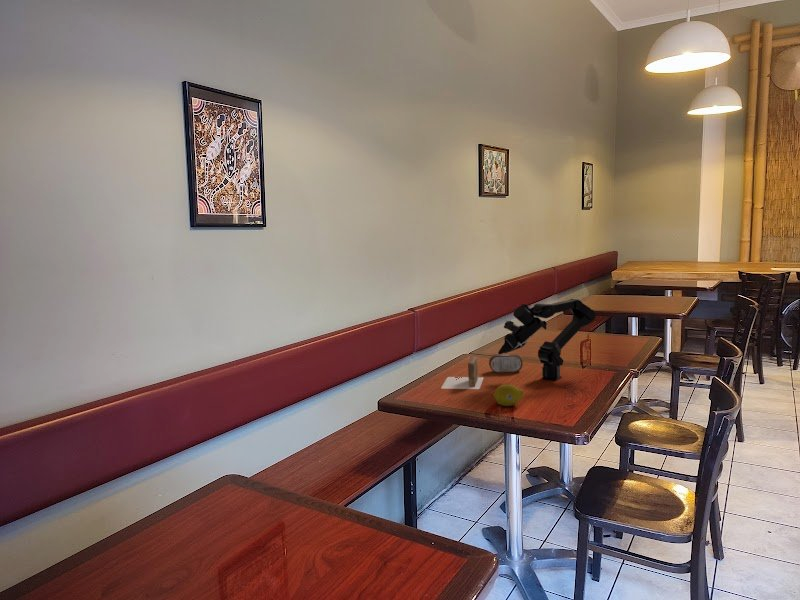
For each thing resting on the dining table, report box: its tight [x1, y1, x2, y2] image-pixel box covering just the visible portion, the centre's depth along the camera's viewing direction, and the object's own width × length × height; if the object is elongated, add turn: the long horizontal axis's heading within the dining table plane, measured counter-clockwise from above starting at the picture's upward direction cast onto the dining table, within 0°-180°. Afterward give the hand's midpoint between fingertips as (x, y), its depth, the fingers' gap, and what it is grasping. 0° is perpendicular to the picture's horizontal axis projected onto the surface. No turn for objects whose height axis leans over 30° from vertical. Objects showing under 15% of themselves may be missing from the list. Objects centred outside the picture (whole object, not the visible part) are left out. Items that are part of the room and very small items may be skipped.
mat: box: [440, 376, 484, 390], centre depth 247 cm, size 16×18×1 cm
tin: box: [488, 353, 524, 373], centre depth 261 cm, size 15×3×8 cm, turn 84°
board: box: [467, 356, 479, 387], centre depth 245 cm, size 2×12×10 cm, turn 166°
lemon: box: [492, 383, 524, 407], centre depth 213 cm, size 11×8×8 cm
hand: (501, 353), depth 245 cm, fingers open, 9 cm apart
